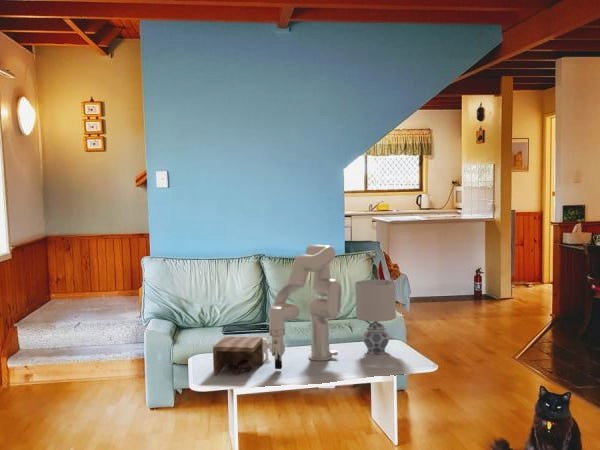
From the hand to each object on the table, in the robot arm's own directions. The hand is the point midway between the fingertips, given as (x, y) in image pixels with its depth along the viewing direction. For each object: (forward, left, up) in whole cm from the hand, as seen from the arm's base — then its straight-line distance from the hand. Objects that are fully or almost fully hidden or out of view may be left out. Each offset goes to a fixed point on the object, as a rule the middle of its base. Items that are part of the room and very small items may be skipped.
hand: (278, 368), depth 286 cm
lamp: (-47, -38, -2) cm, 60 cm away
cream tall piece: (+11, -20, -2) cm, 23 cm away
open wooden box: (+20, -1, -1) cm, 20 cm away
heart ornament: (+18, +1, -2) cm, 18 cm away
